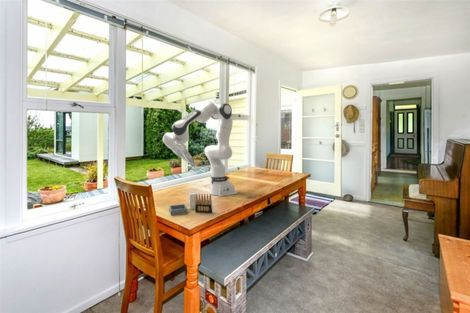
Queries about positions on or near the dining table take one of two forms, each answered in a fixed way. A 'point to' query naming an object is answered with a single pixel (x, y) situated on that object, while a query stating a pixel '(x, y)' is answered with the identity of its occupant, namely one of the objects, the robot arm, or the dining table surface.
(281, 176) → the dining table surface
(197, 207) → the ammunition clip
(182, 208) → the box
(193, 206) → the cream block
